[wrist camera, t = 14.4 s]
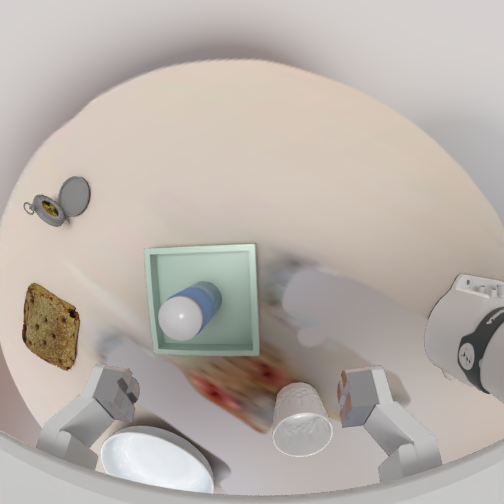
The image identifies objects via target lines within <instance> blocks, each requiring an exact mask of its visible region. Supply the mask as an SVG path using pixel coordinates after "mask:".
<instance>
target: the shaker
mask: <svg viewBox="0 0 504 504" xmlns="http://www.w3.org/2000/svg"><path fill="white" fill-rule="evenodd" d="M221 303H222V296H221V293H220V291H219V289H218V288H217V287H216V286H215V285H214V284H212V283H210V282H206V281H202V282H198V283H195V284H194V285H192V286H190V287H188V288H186V289H184V290H182V291H180V292H178V293H176V294H174V295H173V296H171V297H169V298H168V299H167V300H166V302H165V303H164V304H163V305H162V306H161V308H160V310H159V314H158V320H159V324H160V327H161V329H162V330H163V332H164V333H165V334H166V335H167V336H168V337H170V338H172V339H174V340H178V341H185V340H189V339H191V338H192V337H194V336H196V335H197V334H199V333H200V332H201V331H202V329H203V328H204V327H205V326H206V325H207V323H208V322H209V321H210V320H211V318H212V317H213V316H214V315H215V314H216V312H217V311H218V310H219V308H220V306H221Z"/></svg>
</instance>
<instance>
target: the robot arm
mask: <svg viewBox="0 0 504 504" xmlns="http://www.w3.org/2000/svg"><path fill="white" fill-rule="evenodd" d="M467 281H468V283H467ZM424 346H425V351H426V354H427V357H428V358H429V360H430V361H431V362H432V363H433V364H434V365H435V366H437V367H439V368H440V369H441V370H442V372H443V374H444V376H445V377H446V378H447V379H449V380H453V379H457V380H459V381H460V382H462V383H464V384H466V385H468V386H470V387H475V388H477V389H478V390H481V391H483V392H484V393H487V394H492V395H493V396H495V397H496V398H497V399H498V400H500V401H501V402H503V403H504V281H500V280H495V279H489V278H484V277H478V276H473V275H467V274H460V275H458V276H457V278H456V280H455V281H454V283H453V285H452V288H451V289H450V291H449V292H448V293H447V294H446V295H445V296H444V297H442V299H441V300H440V301H439V302H438V303H437V305H436V306H435V308H434V309H433V311H432V313H431V315H430V317H429V319H428V322H427V326H426V329H425V336H424ZM341 377H342V380H340V381H339V384H338V402H339V404H340V405H341V406H342V410H341V412H340V415H341V422H342V427H343V428H344V427H354V426H362V425H364V426H363V427H364V428H365V429H366V430H367V431H368V433H369V434H370V435H371V436H372V437H373V438H374V440H375V441H376V442H377V443H378V444H379V445H380V447H381V448H382V449H383V450H384V451H385V452H386V454H387V455H388V456H389V457H388V458H387V459H386V460H385V461H384V462H383V463H382V464H381V465H380V466H379V467H378V470H379V477H380V483H378V484H372V485H367V486H362V487H357V488H351V489H344V490H337V491H330V492H321V493H311V494H299V495H277V496H246V495H245V496H244V495H224V494H211V493H201V492H192V491H184V490H178V489H171V488H165V487H160V486H154V485H149V484H144V483H140V482H135V481H131V480H127V479H123V478H119V477H115V476H112V475H108V474H105V473H101V472H98V471H95V468H96V464H97V460H98V456H97V454H96V453H94V452H93V451H92V450H90V449H89V448H90V446H91V445H92V444H93V443H94V442H95V441H96V440H97V439H98V438H99V437H100V436H101V435H102V434H103V432H104V431H105V430H106V429H107V428H108V427H109V426H110V425H111V424H112V423H113V422H114V420H120V421H126V422H132V420H133V416H134V412H135V407H134V405H133V404H134V403H135V402H136V401H137V400H138V398H139V392H140V387H139V383H138V381H137V380H136V379H135V378H133V377H132V372H131V371H130V369H129V368H120V367H113V366H107V365H100V364H96V365H95V366H94V367H93V369H92V372H91V374H90V376H89V379H88V381H87V384H86V386H85V389H84V391H83V394H82V395H79V396H77V397H76V398H75V399H74V400H73V401H71V402H70V403H69V404H68V405H66V406H65V407H64V408H63V409H62V410H60V411H59V412H58V413H57V414H55V415H54V416H53V417H52V418H51V419H49V420H48V421H47V422H46V423H45V424H44V426H43V429H42V432H41V434H40V438H39V440H38V443H37V446H36V448H35V447H33V446H30V445H28V444H26V443H24V442H22V441H20V440H18V439H16V438H14V437H12V436H10V435H9V434H7V433H5V432H3V431H1V430H0V504H504V439H502V440H500V441H498V442H496V443H494V444H492V445H490V446H488V447H486V448H483V449H481V450H479V451H477V452H474V453H472V454H470V455H467V456H465V457H462V458H460V459H457V460H455V461H452V462H449V463H447V464H444V465H442V461H441V457H440V452H439V449H438V445H437V441H436V437H435V435H434V434H433V433H431V432H430V431H429V430H428V429H427V428H426V427H425V426H424V425H422V424H421V423H420V422H419V421H418V420H417V419H416V418H415V417H414V416H413V415H411V414H410V413H409V412H408V411H407V410H406V409H405V408H404V407H403V406H401V405H400V404H399V403H398V402H397V401H394V402H393V399H392V396H391V392H390V388H389V385H388V381H387V378H386V374H385V371H384V368H383V367H382V366H381V365H379V366H372V367H363V368H356V369H348V370H343V371H342V374H341Z"/></svg>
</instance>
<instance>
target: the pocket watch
mask: <svg viewBox="0 0 504 504" xmlns="http://www.w3.org/2000/svg"><path fill="white" fill-rule="evenodd" d="M88 200H89V187H88V184H87V183H86V181H85V180H84V179H83V178H81V177H77V176H74V177H71V178H69V179H67V180H66V181H65V182H64V184H63V185H62V187H61V189H60V192H59V205H58V204H57V203H56V202H55V201H53V200H52V199H51V198H49V197H47V196H44V195H37V196H36V197H35V198H34V200H33V205H32V204H30V203H28V202H25V203H24V209H25V204H28V205H30V207H29V209H31V210H32V211H33V213H29V212H28V211H27V210H26V209H25V211H26V212H27V213H28V214H30V215H33V214H34V211H35V212H36V213H37V215H38V216H39V217H40V218H41V219H42V220H43V221H45V222H46V223H48V224H49V225H52V226H55V227H59V226H61V225H62V224H63V223H64V222H65V215H68V216H77V215H79V214H80V213H81V212H83V210H84V209H85V208H86V206H87V203H88ZM43 206H45V207H43ZM53 213H54V214H53ZM54 215H55V216H54Z"/></svg>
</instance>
